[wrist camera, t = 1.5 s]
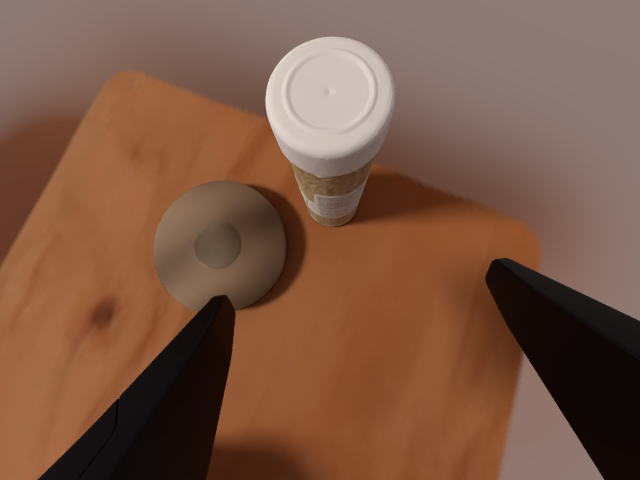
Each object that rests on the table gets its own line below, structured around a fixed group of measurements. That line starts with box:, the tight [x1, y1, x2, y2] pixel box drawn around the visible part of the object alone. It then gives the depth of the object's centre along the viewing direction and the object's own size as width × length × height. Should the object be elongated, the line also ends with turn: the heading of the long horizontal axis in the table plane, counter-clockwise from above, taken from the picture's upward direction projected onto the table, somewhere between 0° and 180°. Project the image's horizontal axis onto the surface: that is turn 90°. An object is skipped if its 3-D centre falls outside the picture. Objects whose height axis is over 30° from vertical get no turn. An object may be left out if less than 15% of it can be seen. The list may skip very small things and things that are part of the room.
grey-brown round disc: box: [153, 181, 287, 312], centre depth 21 cm, size 11×11×2 cm
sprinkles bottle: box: [265, 37, 396, 227], centre depth 15 cm, size 5×5×13 cm
